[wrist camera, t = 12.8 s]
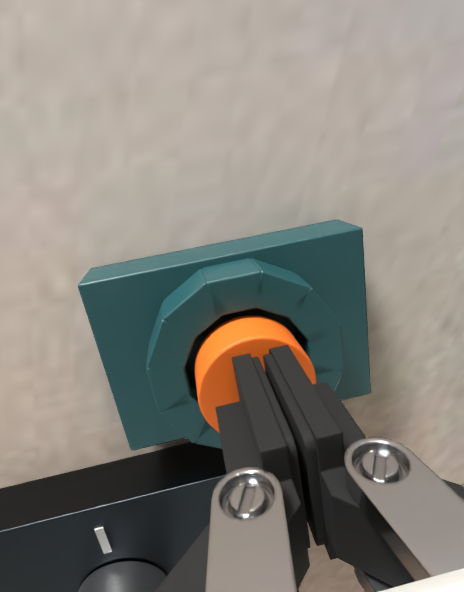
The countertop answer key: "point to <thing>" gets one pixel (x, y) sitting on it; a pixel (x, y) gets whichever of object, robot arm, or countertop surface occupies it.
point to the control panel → (106, 517)
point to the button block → (225, 319)
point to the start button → (233, 342)
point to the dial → (124, 578)
